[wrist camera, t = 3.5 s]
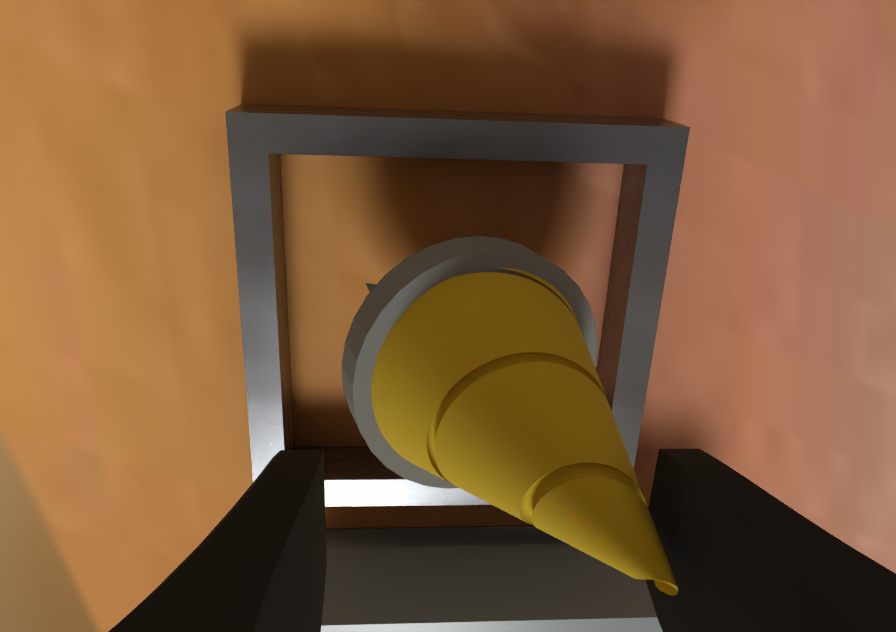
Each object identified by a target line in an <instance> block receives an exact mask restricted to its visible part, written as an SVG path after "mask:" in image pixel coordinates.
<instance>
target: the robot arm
mask: <svg viewBox="0 0 896 632" xmlns="http://www.w3.org/2000/svg"><path fill="white" fill-rule="evenodd" d="M649 512H650V514H651V517H652V519H653V522H654V524H655V527H656V530H657V532H658V535H659V538H660V540H661V543H662V546H663V548H664V551H665V554H666V556H667V559H668V562H669V564H670V567H671V570H672V573H673V575H674V578H675V581H676V584H677V587H678V593H677V594H676V595H673V596H672V595H668V594H666V593H664V592H662V591H660V590H659V589H658V588H657V587H656V585H655V582H654V580H650V579H645V580H646V583H647V586H648V590H649V593H650V596H651V599H652V603H653V606H654V609H655V612H656V615H657V618H658V621H659V624H660V626H661V628H662V631H663V632H896V574H895V573H894V572H892V571H890V570H888V569H887V568H885V567H883V566H882V565H880V564H878V563H877V562H875V561H873V560H872V559H870V558H868V557H867V556H865V555H863V554H862V553H860V552H858V551H857V550H855V549H853V548H852V547H850V546H849V545H847V544H845V543H844V542H842V541H841V540H839V539H838V538H836V537H834V536H833V535H831V534H830V533H828V532H827V531H825V530H823V529H822V528H820V527H819V526H817V525H816V524H814V523H813V522H811V521H810V520H808V519H807V518H805V517H803V516H802V515H800V514H799V513H797V512H796V511H794V510H793V509H791V508H790V507H788V506H787V505H785V504H784V503H782V502H781V501H779V500H778V499H776V498H775V497H773V496H772V495H770V494H769V493H768V492H766V491H765V490H763V489H762V488H760V487H759V486H757V485H756V484H754V483H753V482H751V481H750V480H748V479H747V478H745V477H744V476H742V475H741V474H739V473H738V472H736V471H735V470H733V469H732V468H730V467H729V466H727V465H725V464H724V463H722V462H721V461H719V460H718V459H716V458H714V457H713V456H711V455H709V454H707V453H706V452H704V451H702V450H700V449H659V453H658V458H657V464H656V469H655V475H654V481H653V486H652V492H651V498H650V503H649ZM326 569H327V553H326V519H325V486H324V452H323V450H280V451H279V452H278V453H277V454H276V455H275V456H274V457H273V458H272V459H271V460H270V462H269V463H268V464H267V465H266V467H265V468H264V469H263V471H262V472H261V473H260V475H259V476H258V477H257V478H256V480H255V481H254V482H253V483H252V485H251V486H250V487H249V488H248V490H247V491H246V492H245V493H244V494H243V496H242V497H241V498H240V499H239V501H238V502H237V503H236V504H235V505H234V507H233V508H232V509H231V510H230V511H229V512H228V513H227V515H226V516H225V517H224V518H223V519H222V520H221V521H220V522H219V524H218V525H217V526H216V527H215V528H214V529H213V530H212V531H211V533H210V534H209V535H208V536H207V537H206V538H205V539H204V540H203V542H202V543H201V544H200V545H199V546H198V547H197V548H196V549H195V550H194V551H193V552H192V553H191V554H190V555H189V556H188V557H187V558H186V559H185V560H184V561H183V562H182V563H181V564H180V565H179V566H178V567H177V568H176V569H175V570H174V571H173V572H172V573H171V574H170V575H169V576H168V577H167V578H166V579H165V580H164V581H163V582H162V583H161V584H160V585H159V586H158V587H157V588H156V589H155V590H154V591H153V592H152V593H151V594H150V595H149V596H148V597H147V598H146V599H145V600H144V601H142V602H141V603H140V604H139V605H138V606H137V607H136V608H135V609H134V610H133V611H132V612H130V613H129V614H128V615H127V616H126V617H125V618H124V619H123V620H121V621H120V622H119V623H118V624H117V625H116V626H115V627H113V628H112V629H111V630H110V631H109V632H321V624H322V613H323V603H324V592H325V580H326Z"/></svg>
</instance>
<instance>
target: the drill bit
mask: <svg viewBox="0 0 896 632" xmlns="http://www.w3.org/2000/svg"><path fill="white" fill-rule="evenodd" d="M366 285H367V287H368V289H369V292H370V293H369V294H368V295H367V297H366V298H365V300H364V302H363V303H362V305H361V307H360V308H359V310H358V312H357V314H356V315H355V317H354V319H353V322H352V325H351V327H350V330H349V333H348V336H347V338H346V341H345V347H344V354H343V360H342V377H343V389H344V393H345V396H346V399H347V403H348V406H349V410H350V412H351V414H352V416H353V418H354V420H355V422H356V424H357V426H358V429H359V431H360V433H361V434H362V436H363V438H364V440H365V441H366V443H367V445H368V447H369V448H370V450H371V452H372V453H373V454H374V455H375V456H376V457H377V458H378V459H379V460H380V461H381V462H382V463H383V464H384V465H385V466H386V467H387V468H388V469H390V470H392V471H393V472H395V473H396V474H398V475H400V476H401V477H403V478H404V479H407V480H410V481H413V482H415V483H418V484H421V485H424V486H430V487H437V488H445V489H451V488H461V489H463V490H465V491H466V492H468V493H470V494H472V495H474V496H476V497H478V498H480V499H482V500H484V501H486V502H488V503H490V504H492V505H493V506H495V507H497V508H499V509H501V510H503V511H505V512H507V513H509V514H511V515H513V516H515V517H517V518H519V519H520V520H522V521H524V522H526V523H528V524H532V525H534V526H535V527H536V528H538V529H540V530H542V531H544V532H546V533H547V534H549V535H551V536H553V537H555V538H557V539H559V540H561V541H563V542H565V543H567V544H569V545H571V546H573V547H575V548H576V549H578V550H580V551H582V552H584V553H586V554H588V555H590V556H592V557H594V558H596V559H598V560H600V561H602V562H603V563H605V564H607V565H609V566H611V567H613V568H615V569H617V570H619V571H621V572H623V573H625V574H627V575H629V576H631V577H632V578H634V579H650V580H654V582H655V585H656V587H657V588H658V589H659V590H660V591H662V592H664V593H666V594H668V595H672V596H673V595H676V594H677V593H678V587H677V584H676V581H675V578H674V575H673V573H672V570H671V567H670V564H669V562H668V559H667V556H666V554H665V551H664V548H663V546H662V543H661V540H660V538H659V535H658V532H657V530H656V527H655V524H654V522H653V519H652V517H651V514H650V512H649V509H648V507H647V504H646V501H645V498H644V495H643V493H642V490H641V487H640V485H639V482H638V479H637V477H636V474H635V472H634V469H633V466H632V464H631V461H630V458H629V456H628V453H627V450H626V448H625V445H624V442H623V440H622V437H621V435H620V432H619V429H618V427H617V424H616V421H615V419H614V416H613V413H612V411H611V408H610V406H609V403H608V400H607V397H606V395H605V392H604V389H603V387H602V384H601V382H600V379H599V376H598V374H597V371H596V368H595V367H596V356H597V346H598V345H597V335H596V325H595V321H594V318H593V315H592V312H591V309H590V306H589V303H588V301H587V300H586V298H585V296H584V295H583V293H582V291H581V290H580V288H579V286H578V285H577V284H576V283H575V282H574V281H573V280H572V279H571V278H570V277H569V276H568V275H567V274H566V273H565V272H564V271H563V270H562V269H560V268H559V267H557V266H556V265H554V264H552V263H551V262H549V261H548V260H546V259H545V258H543V257H541V256H540V255H538V254H537V253H535V252H533V251H532V250H530V249H528V248H527V247H525V246H524V245H521V244H518V243H515V242H512V241H509V240H506V239H503V238H496V237H487V236H471V237H461V238H453V239H450V240H447V241H444V242H441V243H437V244H434V245H431V246H429V247H427V248H425V249H423V250H421V251H419V252H417V253H415V254H413V255H412V256H410V257H408V258H406V259H405V260H404V261H402V262H401V263H400V264H398V265H397V266H396V267H395V268H393V269H392V270H391V271H390V272H388V273H387V274H386V275H385V276H384V277H383V278H382V279H381V280H380V281H379V283H378V284H377V285H376V284H368V283H366Z"/></svg>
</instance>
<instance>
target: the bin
mask: <svg viewBox="0 0 896 632" xmlns="http://www.w3.org/2000/svg"><path fill="white" fill-rule="evenodd" d="M326 553H327V569H326V580H325V592H324V603H323V613H322V624H321V632H663V631H662V628H661V626H660V624H659V621H658V618H657V615H656V612H655V609H654V606H653V603H652V599H651V596H650V593H649V590H648V586H647V583H646V580H645V579H634V578H632V577H631V576H629V575H627V574H625V573H623V572H621V571H619V570H617V569H615V568H613V567H611V566H609V565H607V564H605V563H603V562H602V561H600V560H598V559H596V558H594V557H592V556H590V555H588V554H586V553H584V552H582V551H580V550H578V549H576V548H575V547H573V546H571V545H569V544H567V543H565V542H563V541H561V540H559V539H557V538H555V537H553V536H551V535H549V534H547V533H546V532H544V531H542V530H540V529H538V528H536V527H535V526H515V527H442V528H368V529H326Z"/></svg>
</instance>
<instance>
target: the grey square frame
mask: <svg viewBox="0 0 896 632" xmlns="http://www.w3.org/2000/svg"><path fill="white" fill-rule="evenodd" d="M226 125H227V138H228V152H229V165H230V179H231V192H232V205H233V219H234V232H235V245H236V259H237V272H238V286H239V299H240V312H241V326H242V339H243V352H244V366H245V379H246V393H247V406H248V419H249V433H250V446H251V459H252V473H253V482H254V481H255V480H256V478H257V477H258V476H259V475H260V473H261V472H262V471H263V469H264V468H265V467H266V465H267V464H268V463H269V462H270V460H271V459H272V458H273V457H274V456H275V455H276V454H277V453H278V452H279V451H280V450H323V452H324V486H325V507H339V506H429V505H492V504H490V503H488V502H486V501H484V500H482V499H480V498H478V497H476V496H474V495H472V494H470V493H468V492H466V491H465V490H463V489H461V488H451V489H445V488H437V487H430V486H424V485H421V484H418V483H415V482H413V481H410V480H407V479H404V478H403V477H401V476H400V475H398V474H396V473H395V472H393V471H392V470H390V469H388V468H387V467H386V466H385V465H384V464H383V463H382V462H381V461H380V460H379V459H378V458H377V457H376V456H375V455H374V454H373V453H372V452H371V450H370V448H369V447H294V439H293V418H292V397H291V376H290V355H289V335H288V314H287V293H286V272H285V251H284V231H283V210H282V189H281V168H280V154H306V155H341V156H375V157H410V158H444V159H479V160H514V161H548V162H583V163H617V164H625V165H624V173H623V180H622V188H621V196H620V203H619V211H618V218H617V226H616V233H615V241H614V248H613V256H612V263H611V271H610V278H609V286H608V293H607V301H606V308H605V316H604V324H603V331H602V339H601V346H600V354H599V361H598V369H597V374H598V376H599V379H600V382H601V384H602V387H603V389H604V392H605V395H606V397H607V400H608V403H609V406H610V408H611V411H612V413H613V416H614V419H615V421H616V424H617V427H618V429H619V432H620V435H621V437H622V440H623V442H624V445H625V448H626V450H627V453H628V456H629V458H630V461H631V464H632V466H633V469H634V465H635V459H636V453H637V446H638V440H639V434H640V428H641V422H642V416H643V410H644V404H645V398H646V392H647V385H648V379H649V373H650V367H651V361H652V355H653V349H654V343H655V337H656V330H657V324H658V318H659V312H660V306H661V300H662V294H663V288H664V282H665V276H666V269H667V263H668V257H669V251H670V245H671V239H672V233H673V227H674V221H675V215H676V208H677V202H678V196H679V190H680V184H681V178H682V172H683V166H684V160H685V154H686V147H687V141H688V135H689V129H690V127H687V126H684V125H681V124H678V123H675V122H672V121H669V120H666V119H650V118H620V117H591V116H562V115H533V114H504V113H475V112H446V111H417V110H387V109H358V108H329V107H300V106H271V105H242V104H240V105H238V106H236V107H234V108H232V109H230V110H228V111H226Z"/></svg>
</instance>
